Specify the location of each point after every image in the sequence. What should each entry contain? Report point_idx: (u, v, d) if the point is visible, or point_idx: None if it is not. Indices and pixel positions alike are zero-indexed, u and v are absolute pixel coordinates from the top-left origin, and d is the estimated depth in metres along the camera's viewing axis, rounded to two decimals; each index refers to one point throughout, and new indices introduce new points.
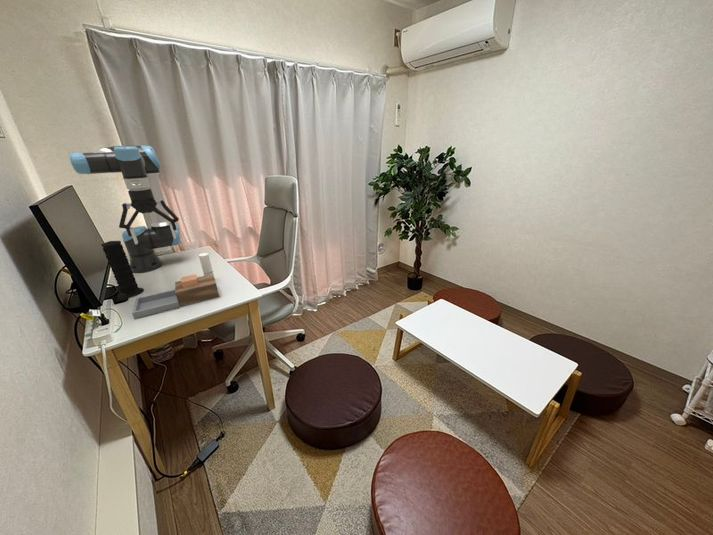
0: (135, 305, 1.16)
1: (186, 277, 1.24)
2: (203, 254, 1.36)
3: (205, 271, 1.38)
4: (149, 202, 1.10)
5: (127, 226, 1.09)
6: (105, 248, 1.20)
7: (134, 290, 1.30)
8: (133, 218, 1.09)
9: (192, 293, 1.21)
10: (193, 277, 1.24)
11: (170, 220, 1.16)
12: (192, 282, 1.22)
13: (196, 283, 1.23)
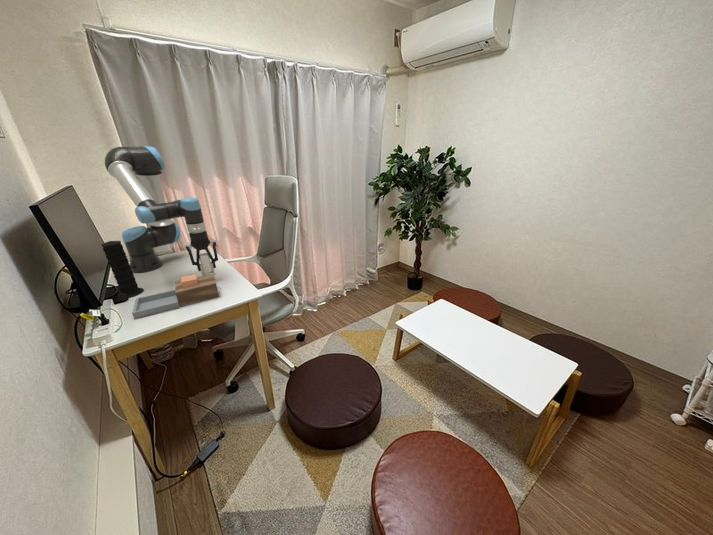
0: (135, 305, 1.16)
1: (186, 277, 1.24)
2: (203, 254, 1.36)
3: (205, 271, 1.38)
4: (205, 240, 1.34)
5: (197, 263, 1.35)
6: (105, 248, 1.20)
7: (134, 290, 1.30)
8: (198, 256, 1.34)
9: (192, 293, 1.21)
10: (193, 277, 1.24)
11: (212, 260, 1.38)
12: (192, 282, 1.22)
13: (196, 283, 1.23)
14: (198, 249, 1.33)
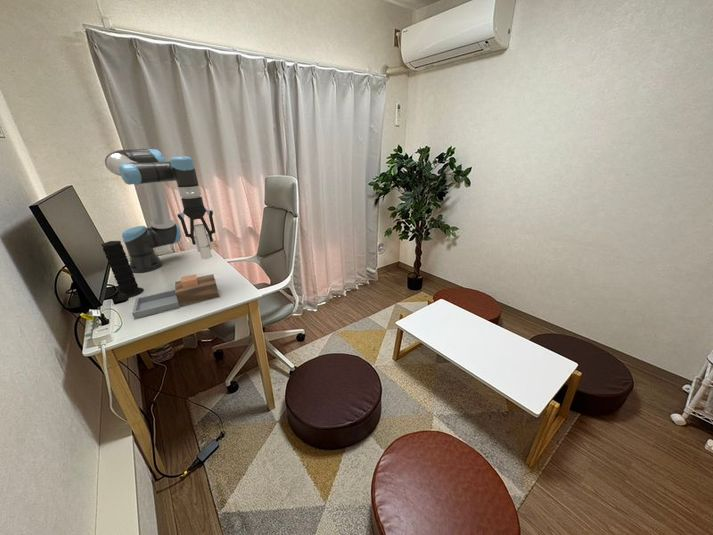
0: (135, 305, 1.16)
1: (186, 277, 1.24)
2: (198, 225, 1.18)
3: (200, 244, 1.20)
4: (200, 208, 1.16)
5: (191, 235, 1.17)
6: (105, 248, 1.20)
7: (134, 290, 1.30)
8: (192, 226, 1.16)
9: (192, 293, 1.21)
10: (193, 277, 1.24)
11: (208, 231, 1.20)
12: (192, 282, 1.22)
13: (196, 283, 1.23)
14: (192, 218, 1.15)
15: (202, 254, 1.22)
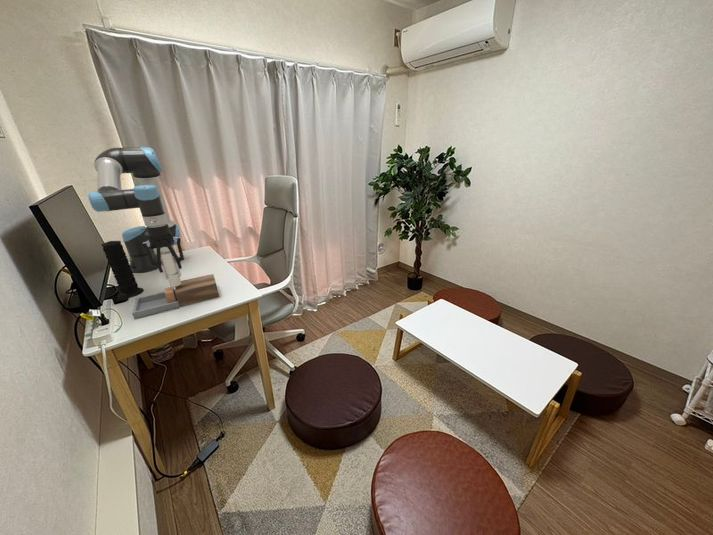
0: (135, 305, 1.16)
1: None
2: (165, 252, 1.16)
3: (168, 272, 1.17)
4: (167, 236, 1.13)
5: (158, 263, 1.15)
6: (105, 248, 1.20)
7: (134, 290, 1.30)
8: (159, 254, 1.14)
9: (192, 293, 1.21)
10: None
11: (177, 259, 1.18)
12: (169, 296, 1.19)
13: (170, 293, 1.19)
14: (158, 246, 1.12)
15: (170, 282, 1.19)
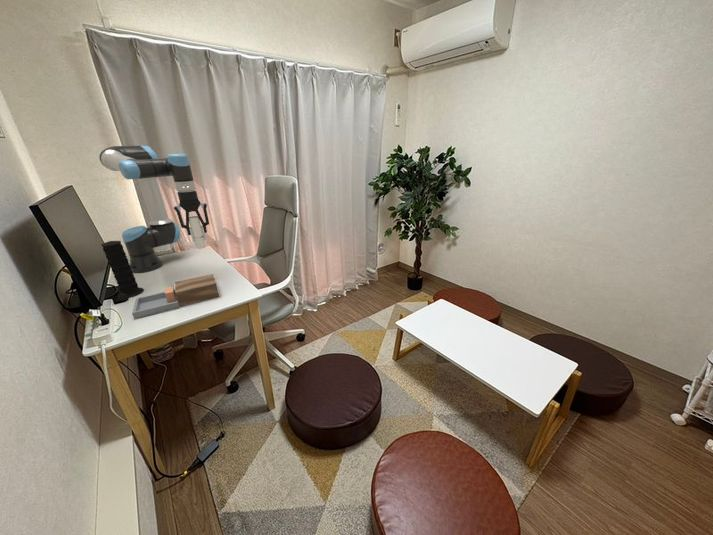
0: (135, 305, 1.16)
1: None
2: (193, 217, 1.28)
3: (195, 235, 1.30)
4: (195, 201, 1.26)
5: (187, 226, 1.27)
6: (105, 248, 1.20)
7: (134, 290, 1.30)
8: (187, 218, 1.26)
9: (192, 293, 1.21)
10: None
11: (203, 223, 1.30)
12: (169, 296, 1.19)
13: (170, 293, 1.19)
14: (187, 210, 1.25)
15: (197, 244, 1.32)
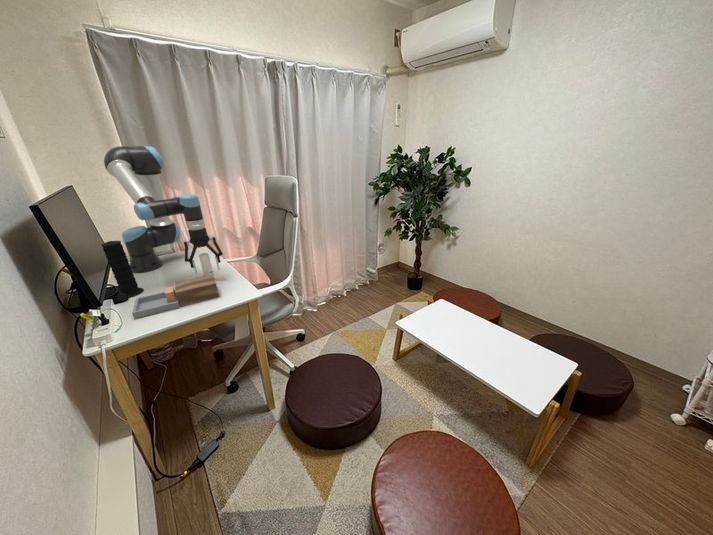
0: (135, 305, 1.16)
1: None
2: (203, 254, 1.36)
3: (205, 271, 1.38)
4: (204, 238, 1.33)
5: (190, 260, 1.33)
6: (105, 248, 1.20)
7: (134, 290, 1.30)
8: (193, 252, 1.33)
9: (192, 293, 1.21)
10: None
11: (216, 254, 1.38)
12: (169, 296, 1.19)
13: (170, 293, 1.19)
14: (196, 246, 1.32)
15: None
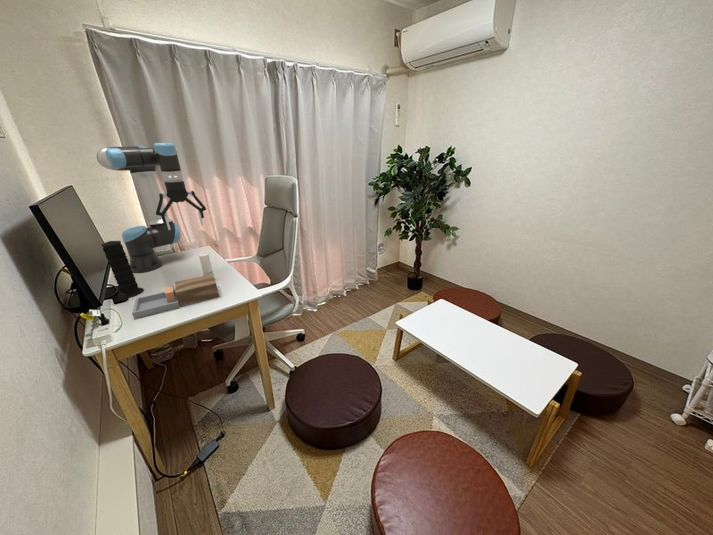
0: (135, 305, 1.16)
1: None
2: (203, 254, 1.36)
3: (205, 271, 1.38)
4: (182, 192, 1.25)
5: (162, 213, 1.23)
6: (105, 248, 1.20)
7: (134, 290, 1.30)
8: (168, 206, 1.24)
9: (192, 293, 1.21)
10: None
11: (199, 209, 1.30)
12: (169, 296, 1.19)
13: (170, 293, 1.19)
14: (172, 200, 1.23)
15: None
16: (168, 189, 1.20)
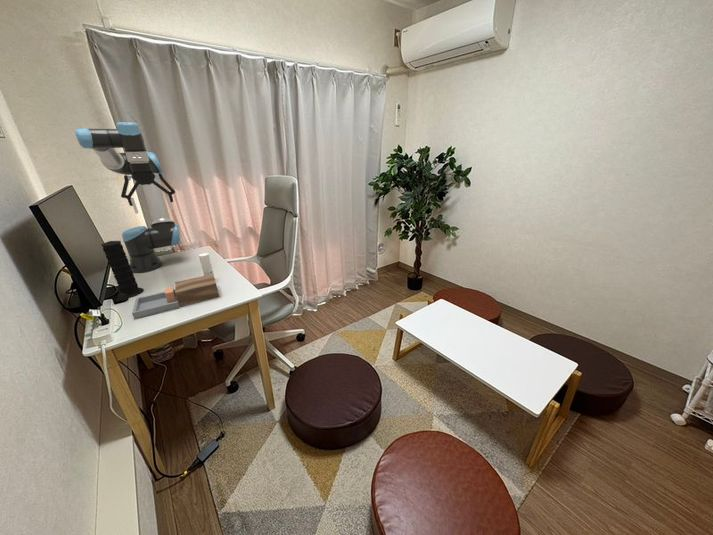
0: (135, 305, 1.16)
1: None
2: (203, 254, 1.36)
3: (205, 271, 1.38)
4: (148, 175, 1.22)
5: (128, 196, 1.21)
6: (105, 248, 1.20)
7: (134, 290, 1.30)
8: (134, 189, 1.21)
9: (192, 293, 1.21)
10: None
11: (167, 192, 1.27)
12: (169, 296, 1.19)
13: (170, 293, 1.19)
14: (138, 182, 1.20)
15: None
16: (133, 170, 1.18)
